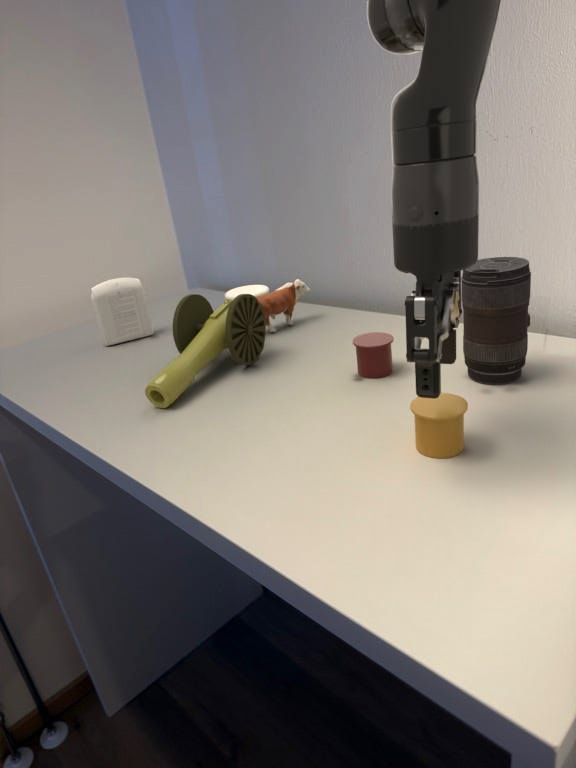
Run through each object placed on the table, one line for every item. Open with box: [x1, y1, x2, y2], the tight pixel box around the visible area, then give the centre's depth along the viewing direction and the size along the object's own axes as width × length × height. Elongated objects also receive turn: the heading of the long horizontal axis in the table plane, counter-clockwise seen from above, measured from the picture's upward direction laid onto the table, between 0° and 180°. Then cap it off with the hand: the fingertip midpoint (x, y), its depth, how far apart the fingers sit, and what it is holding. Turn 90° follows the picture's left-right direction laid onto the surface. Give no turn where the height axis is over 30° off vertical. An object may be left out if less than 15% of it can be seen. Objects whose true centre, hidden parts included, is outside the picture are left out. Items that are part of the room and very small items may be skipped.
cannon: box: [144, 293, 267, 409], centre depth 84 cm, size 25×12×11 cm, turn 154°
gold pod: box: [409, 392, 469, 459], centre depth 57 cm, size 6×6×5 cm
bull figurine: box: [256, 278, 311, 333], centre depth 102 cm, size 4×13×8 cm, turn 124°
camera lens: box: [461, 256, 532, 385], centre depth 69 cm, size 8×8×15 cm
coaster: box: [224, 284, 270, 301], centre depth 121 cm, size 10×10×4 cm
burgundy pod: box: [351, 331, 395, 379], centre depth 78 cm, size 6×6×5 cm
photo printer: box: [90, 277, 155, 347], centre depth 107 cm, size 10×4×12 cm, turn 116°
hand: (437, 378), depth 55 cm, fingers open, 8 cm apart
